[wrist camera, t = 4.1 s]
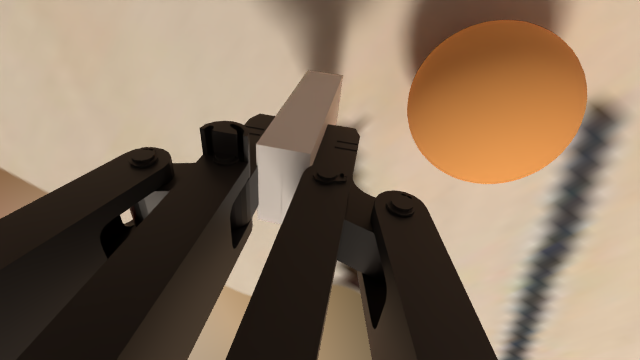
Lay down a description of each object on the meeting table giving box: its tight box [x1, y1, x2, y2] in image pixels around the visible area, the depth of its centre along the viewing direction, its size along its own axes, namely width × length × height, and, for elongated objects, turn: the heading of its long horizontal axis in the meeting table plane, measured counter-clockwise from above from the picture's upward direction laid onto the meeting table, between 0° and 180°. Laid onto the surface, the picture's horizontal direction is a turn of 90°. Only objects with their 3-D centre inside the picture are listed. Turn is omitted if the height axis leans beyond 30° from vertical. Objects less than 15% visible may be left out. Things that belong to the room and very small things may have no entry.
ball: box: [407, 20, 587, 184], centre depth 13 cm, size 6×6×6 cm
